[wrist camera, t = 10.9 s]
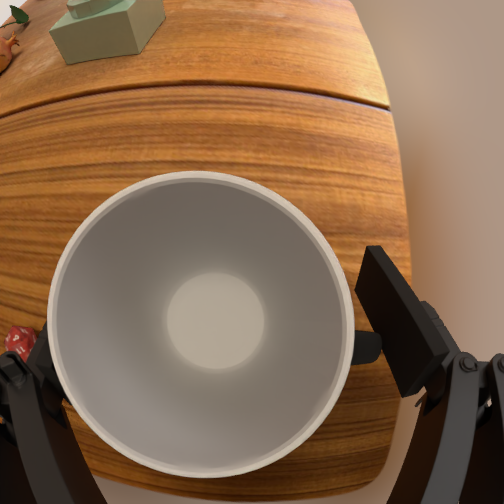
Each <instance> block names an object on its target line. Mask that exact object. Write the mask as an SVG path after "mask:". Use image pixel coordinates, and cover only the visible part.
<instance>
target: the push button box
mask: <svg viewBox="0 0 504 504" xmlns="http://www.w3.org/2000/svg"><path fill="white" fill-rule="evenodd" d="M67 7H68V9H69V11H68V12H67V13H66V14H65V15H64V16H63V17H62V18H61V19H60V20H59V21H58V22H57V23H56V24H55V25H54V26H53V27H52V28H51V29H50V30H49V33H50V35H51V36H52V38H53V40H54V42H55V44H56V46H57V48H58V49H59V51H60V53H61V55H62V57H63V58H64V60H65V62H66V64H67V65H69V64H74V63H78V62H83V61H89V60H95V59H101V58H107V57H115V56H123V55H132V54H140V53H141V51H142V50H143V48H144V47H145V45H146V44H147V42H148V41H149V39H150V38H151V37H152V35H153V34H154V32H155V31H156V30H157V28H158V27H159V26H160V24H161V23H162V22H163V20H164V19H165V18H166V16H165V11H164V6H163V0H68V3H67Z"/></svg>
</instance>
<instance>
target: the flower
mask: <svg viewBox="0 0 504 504" xmlns="http://www.w3.org/2000/svg"><path fill="white" fill-rule="evenodd" d="M10 8H11V12H12V16H13V17H14V18H15V19H17V20H16V22H13V23H18V24H21V23H24V22H27V21H28V19H29V17H28V15H27V14H26V13H25V12H24V11H23V10H21V9H19V8H17V7H15V6H12V5H10ZM13 23H9V24H13ZM9 24H6V25H9ZM25 24H26V23H25ZM6 25H4V26H6ZM4 26H2V27H4ZM24 26H25V25H24ZM2 27H0V28H2ZM4 28H5V27H4Z"/></svg>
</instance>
